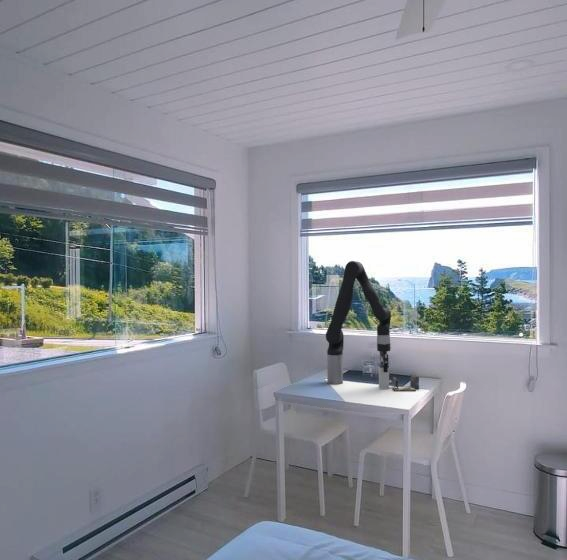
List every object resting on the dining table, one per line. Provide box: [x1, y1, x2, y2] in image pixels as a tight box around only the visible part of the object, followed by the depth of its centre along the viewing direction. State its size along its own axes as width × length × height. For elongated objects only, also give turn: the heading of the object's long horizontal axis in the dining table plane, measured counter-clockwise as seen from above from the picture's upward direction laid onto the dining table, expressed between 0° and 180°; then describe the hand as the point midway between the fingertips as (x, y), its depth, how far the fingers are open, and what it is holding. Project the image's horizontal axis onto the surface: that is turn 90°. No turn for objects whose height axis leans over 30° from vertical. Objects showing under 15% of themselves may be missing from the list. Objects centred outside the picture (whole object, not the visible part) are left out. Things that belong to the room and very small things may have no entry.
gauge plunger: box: [392, 376, 400, 389], centre depth 277 cm, size 1×12×4 cm, turn 178°
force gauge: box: [378, 363, 393, 390], centre depth 279 cm, size 7×5×13 cm
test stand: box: [391, 373, 420, 392], centre depth 276 cm, size 15×13×7 cm
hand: (384, 370), depth 279 cm, fingers open, 8 cm apart
